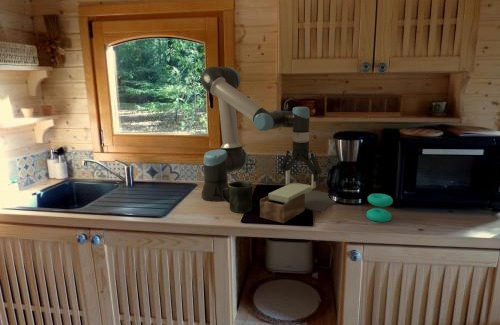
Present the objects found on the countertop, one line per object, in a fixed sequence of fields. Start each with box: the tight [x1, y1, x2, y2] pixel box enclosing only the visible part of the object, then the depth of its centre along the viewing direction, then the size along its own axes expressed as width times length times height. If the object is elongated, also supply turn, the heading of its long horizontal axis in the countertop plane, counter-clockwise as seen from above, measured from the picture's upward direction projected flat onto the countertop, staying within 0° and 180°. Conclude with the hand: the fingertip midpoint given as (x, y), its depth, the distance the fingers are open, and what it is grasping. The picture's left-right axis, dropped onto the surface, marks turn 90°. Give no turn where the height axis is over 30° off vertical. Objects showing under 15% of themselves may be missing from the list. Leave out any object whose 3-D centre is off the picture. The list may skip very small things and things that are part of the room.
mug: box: [222, 180, 254, 214], centre depth 161 cm, size 11×15×12 cm
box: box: [259, 194, 306, 224], centre depth 156 cm, size 12×18×8 cm, turn 144°
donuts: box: [366, 193, 394, 223], centre depth 150 cm, size 10×10×10 cm
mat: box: [305, 189, 337, 213], centre depth 173 cm, size 18×26×1 cm
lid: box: [267, 181, 313, 203], centre depth 160 cm, size 10×22×2 cm, turn 144°
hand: (300, 185), depth 166 cm, fingers open, 13 cm apart
